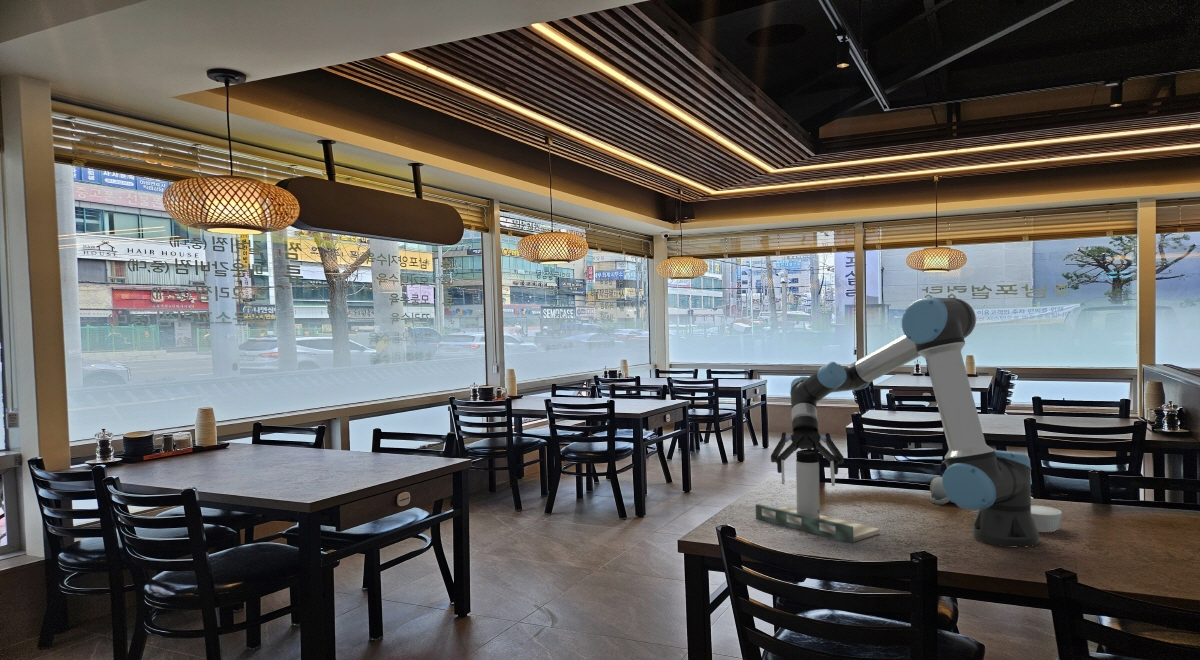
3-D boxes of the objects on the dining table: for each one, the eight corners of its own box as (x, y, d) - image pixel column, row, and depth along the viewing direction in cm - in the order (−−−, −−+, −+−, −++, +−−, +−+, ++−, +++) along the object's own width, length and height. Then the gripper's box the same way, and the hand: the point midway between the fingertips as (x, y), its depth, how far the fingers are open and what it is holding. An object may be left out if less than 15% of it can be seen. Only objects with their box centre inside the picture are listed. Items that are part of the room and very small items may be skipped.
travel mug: (825, 521, 207) (824, 450, 207) (804, 523, 205) (803, 451, 205) (812, 516, 213) (811, 447, 213) (792, 518, 211) (791, 448, 211)
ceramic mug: (940, 496, 238) (939, 473, 238) (965, 501, 232) (964, 476, 232) (923, 502, 232) (922, 478, 232) (949, 507, 225) (948, 482, 225)
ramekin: (1015, 521, 208) (1015, 502, 208) (1061, 526, 203) (1061, 507, 203) (1014, 531, 199) (1014, 511, 199) (1063, 536, 193) (1062, 516, 193)
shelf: (879, 533, 199) (879, 518, 199) (850, 542, 191) (850, 527, 191) (784, 510, 224) (784, 497, 224) (755, 518, 216) (755, 504, 216)
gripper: (847, 430, 221) (853, 491, 206) (762, 428, 226) (762, 488, 212) (849, 414, 216) (855, 476, 201) (762, 413, 221) (762, 473, 207)
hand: (808, 482), depth 207 cm, fingers open, 13 cm apart
